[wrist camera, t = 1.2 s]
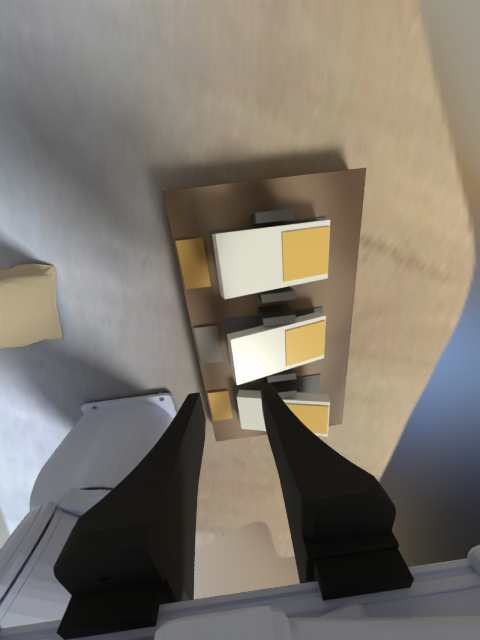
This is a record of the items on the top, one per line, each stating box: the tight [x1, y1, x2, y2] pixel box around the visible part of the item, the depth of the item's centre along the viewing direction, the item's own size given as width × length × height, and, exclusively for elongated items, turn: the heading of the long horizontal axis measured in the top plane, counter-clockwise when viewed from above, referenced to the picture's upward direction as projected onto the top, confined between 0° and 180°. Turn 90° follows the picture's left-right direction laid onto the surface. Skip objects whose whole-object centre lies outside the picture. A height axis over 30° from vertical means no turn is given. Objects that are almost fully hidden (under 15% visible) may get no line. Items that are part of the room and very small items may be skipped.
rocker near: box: [212, 220, 330, 299], centre depth 15 cm, size 8×4×1 cm, turn 96°
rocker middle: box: [227, 312, 326, 385], centre depth 18 cm, size 8×4×1 cm, turn 96°
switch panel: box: [163, 168, 366, 441], centre depth 19 cm, size 14×24×5 cm, turn 6°
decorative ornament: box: [0, 264, 63, 348], centre depth 16 cm, size 4×8×5 cm, turn 167°
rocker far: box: [237, 390, 330, 437], centre depth 20 cm, size 8×4×1 cm, turn 96°
